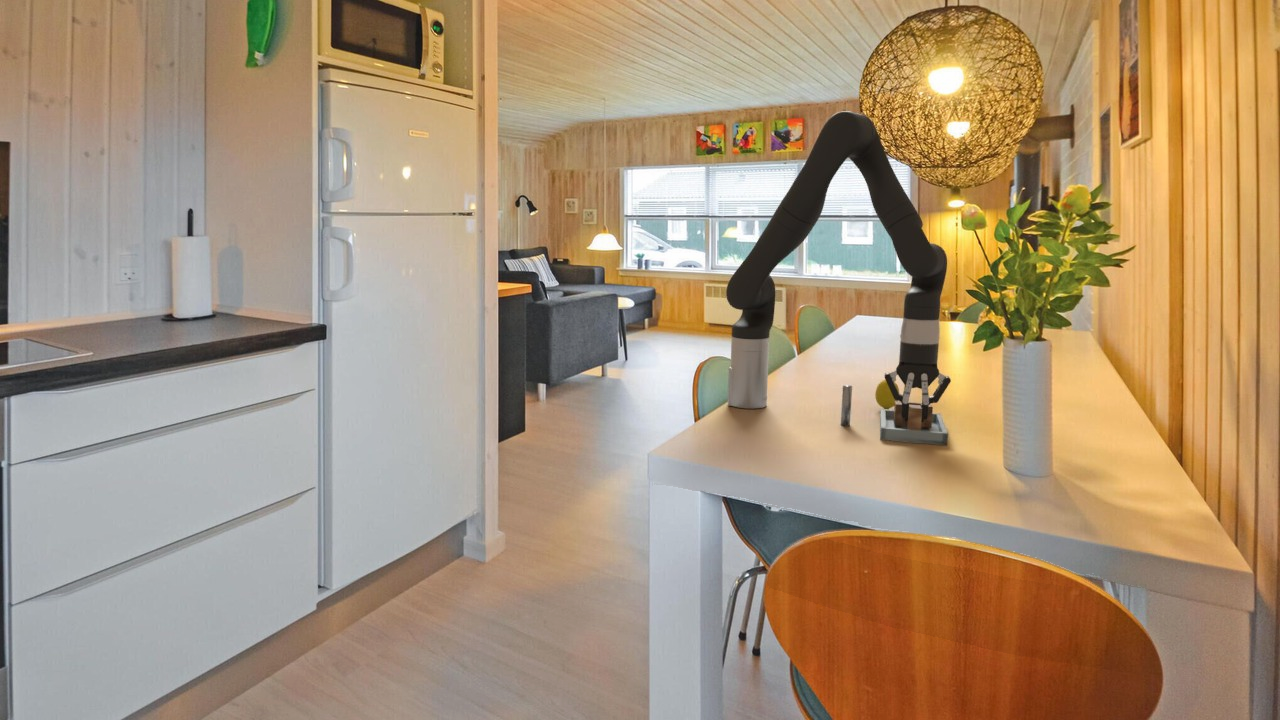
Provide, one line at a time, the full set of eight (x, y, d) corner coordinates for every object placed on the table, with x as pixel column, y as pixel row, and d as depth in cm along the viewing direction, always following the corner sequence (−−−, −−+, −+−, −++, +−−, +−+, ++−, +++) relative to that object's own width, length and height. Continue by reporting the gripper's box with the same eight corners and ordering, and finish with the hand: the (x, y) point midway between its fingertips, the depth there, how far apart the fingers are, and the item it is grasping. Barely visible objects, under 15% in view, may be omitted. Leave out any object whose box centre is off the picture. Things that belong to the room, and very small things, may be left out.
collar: (895, 428, 155) (896, 406, 154) (893, 420, 167) (894, 401, 167) (933, 431, 152) (935, 409, 152) (928, 423, 165) (930, 403, 165)
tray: (880, 439, 155) (881, 428, 154) (879, 419, 172) (880, 408, 171) (947, 445, 151) (948, 433, 151) (939, 424, 168) (940, 413, 168)
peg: (840, 425, 166) (842, 386, 164) (840, 423, 168) (843, 384, 166) (849, 426, 165) (852, 387, 164) (850, 424, 167) (852, 385, 166)
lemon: (895, 408, 183) (897, 376, 182) (900, 413, 178) (902, 380, 176) (872, 407, 184) (874, 375, 182) (877, 412, 178) (879, 380, 177)
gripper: (884, 341, 153) (879, 422, 156) (957, 344, 149) (951, 427, 151) (884, 336, 160) (879, 414, 163) (953, 339, 156) (947, 419, 158)
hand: (914, 420), depth 157 cm, fingers closed on collar, 2 cm apart
